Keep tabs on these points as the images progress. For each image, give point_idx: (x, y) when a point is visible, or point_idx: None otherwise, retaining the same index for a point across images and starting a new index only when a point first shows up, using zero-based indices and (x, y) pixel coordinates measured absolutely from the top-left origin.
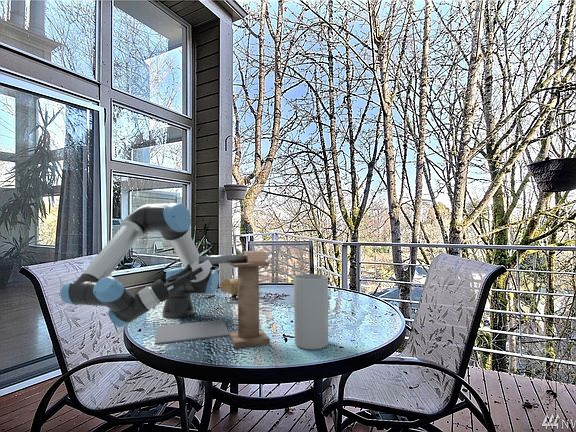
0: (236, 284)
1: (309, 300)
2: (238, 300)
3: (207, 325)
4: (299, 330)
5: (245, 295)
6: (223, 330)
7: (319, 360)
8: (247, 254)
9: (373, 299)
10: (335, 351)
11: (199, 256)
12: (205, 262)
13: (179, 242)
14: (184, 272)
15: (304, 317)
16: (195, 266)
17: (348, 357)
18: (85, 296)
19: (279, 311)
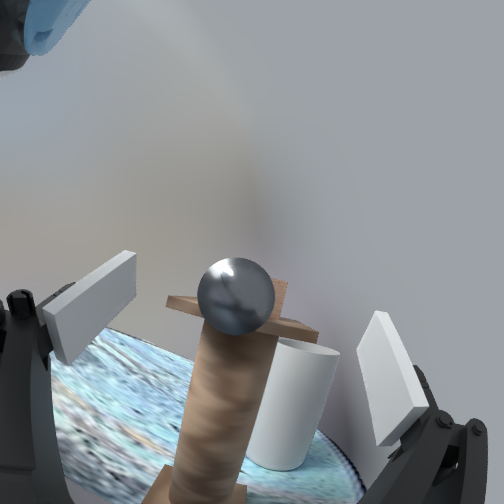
0: None
1: (328, 392)
2: (215, 445)
3: None
4: (298, 447)
5: (251, 426)
6: (80, 495)
7: (342, 469)
8: (284, 288)
9: (142, 342)
10: (312, 449)
11: (255, 263)
12: (393, 330)
13: None
14: (37, 403)
15: (314, 423)
16: (81, 323)
17: (335, 448)
18: None
19: (72, 380)
